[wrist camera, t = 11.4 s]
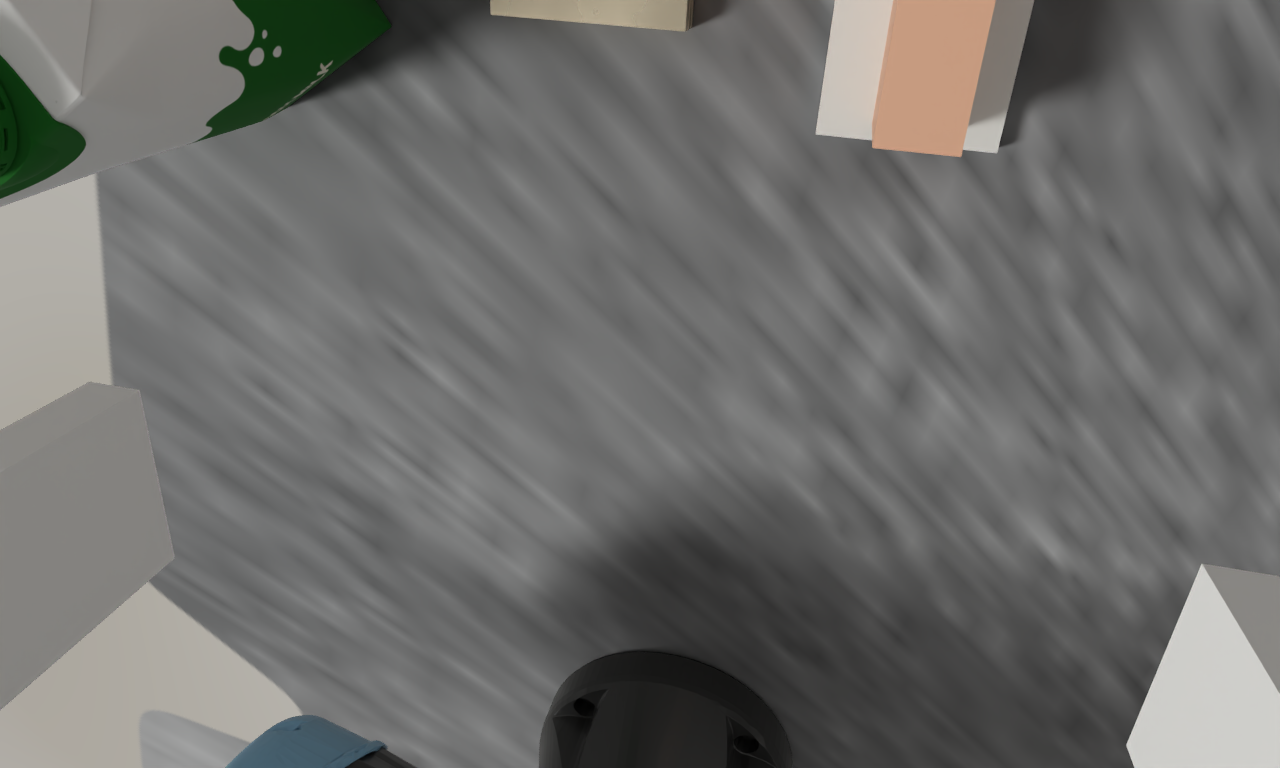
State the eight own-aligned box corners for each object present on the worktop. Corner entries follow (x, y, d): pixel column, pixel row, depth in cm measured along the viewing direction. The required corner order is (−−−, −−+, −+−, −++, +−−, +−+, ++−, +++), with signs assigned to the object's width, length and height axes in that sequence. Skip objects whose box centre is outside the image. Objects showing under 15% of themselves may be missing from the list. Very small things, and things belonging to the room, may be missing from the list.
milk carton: (286, 135, 42) (-129, 279, 24) (158, -46, 39) (-407, -30, 22) (421, 33, 38) (45, 117, 21) (290, -173, 36) (-263, -275, 18)
